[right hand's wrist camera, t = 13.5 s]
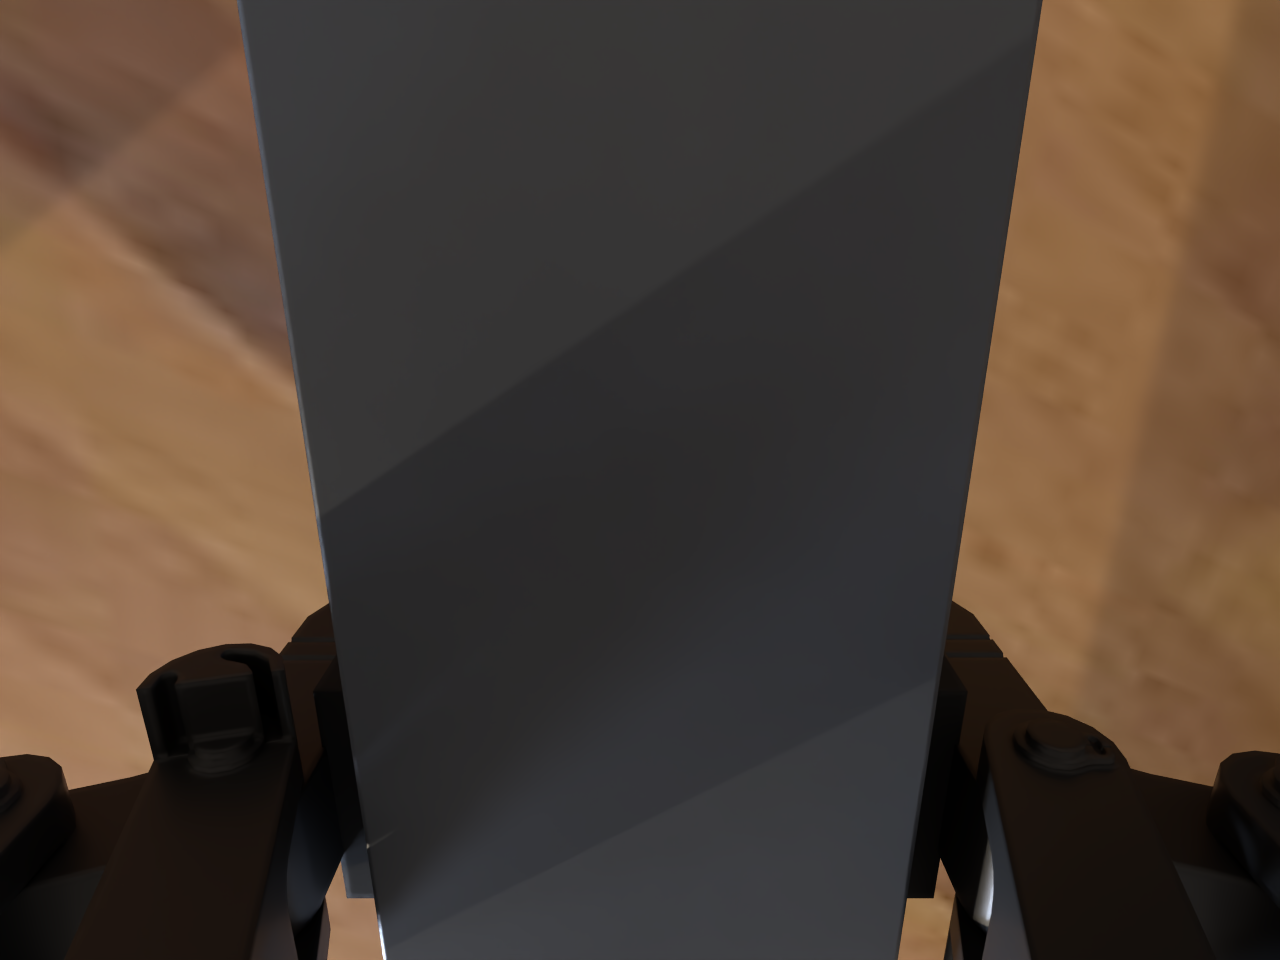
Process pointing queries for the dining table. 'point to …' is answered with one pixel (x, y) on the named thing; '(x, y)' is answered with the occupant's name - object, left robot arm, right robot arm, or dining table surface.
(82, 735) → the dining table surface
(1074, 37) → the dining table surface
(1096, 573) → the dining table surface
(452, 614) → the beam
